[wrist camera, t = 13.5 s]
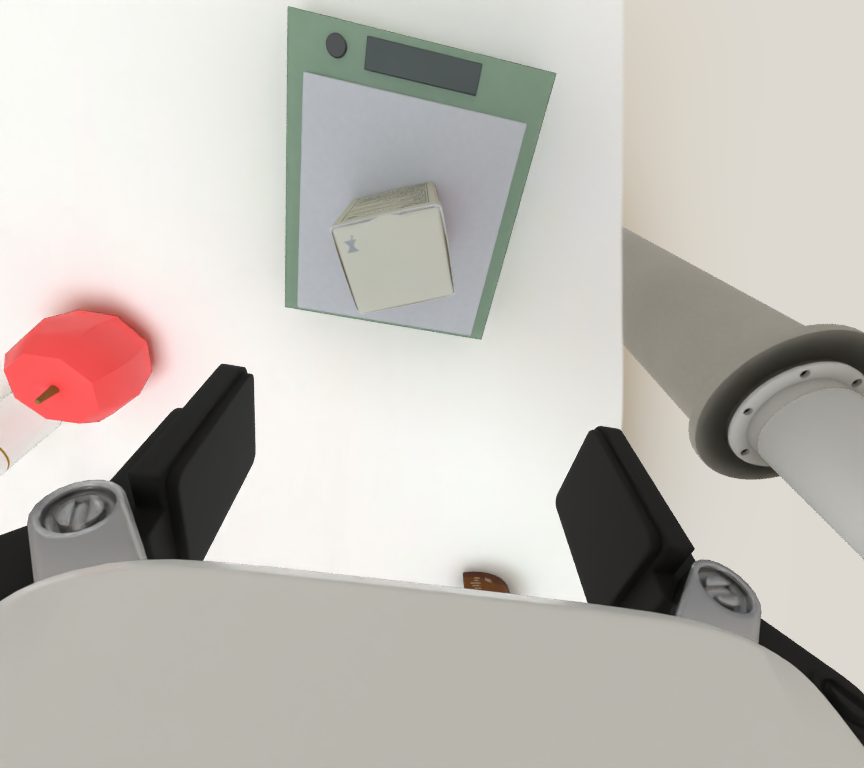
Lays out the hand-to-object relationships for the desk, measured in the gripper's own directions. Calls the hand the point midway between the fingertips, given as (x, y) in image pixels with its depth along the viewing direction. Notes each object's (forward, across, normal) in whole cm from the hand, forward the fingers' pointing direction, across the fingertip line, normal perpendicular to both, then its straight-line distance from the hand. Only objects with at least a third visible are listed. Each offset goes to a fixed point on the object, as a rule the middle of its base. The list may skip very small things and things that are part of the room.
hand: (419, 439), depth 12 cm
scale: (+22, +2, -3) cm, 22 cm away
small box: (+18, +2, -2) cm, 18 cm away
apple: (+21, +23, +12) cm, 34 cm away
